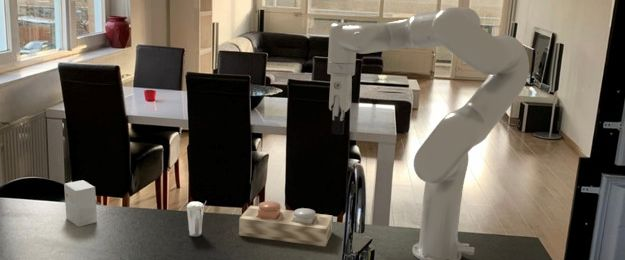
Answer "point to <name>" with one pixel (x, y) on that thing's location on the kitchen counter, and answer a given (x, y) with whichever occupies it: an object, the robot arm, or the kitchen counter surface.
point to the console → (286, 227)
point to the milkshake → (195, 218)
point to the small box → (80, 203)
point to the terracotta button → (269, 210)
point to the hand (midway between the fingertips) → (337, 133)
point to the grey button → (304, 216)
